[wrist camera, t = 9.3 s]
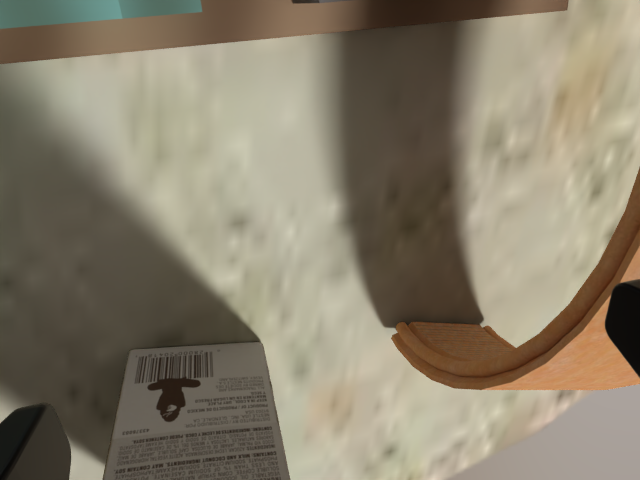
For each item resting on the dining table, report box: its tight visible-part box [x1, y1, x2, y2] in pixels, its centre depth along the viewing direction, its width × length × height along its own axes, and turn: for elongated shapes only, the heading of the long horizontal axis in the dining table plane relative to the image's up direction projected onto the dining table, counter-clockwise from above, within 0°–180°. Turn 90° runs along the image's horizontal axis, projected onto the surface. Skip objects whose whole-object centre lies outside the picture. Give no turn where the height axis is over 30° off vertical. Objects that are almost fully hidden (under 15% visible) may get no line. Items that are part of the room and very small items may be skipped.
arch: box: [391, 168, 640, 390], centre depth 17 cm, size 6×20×10 cm, turn 168°
